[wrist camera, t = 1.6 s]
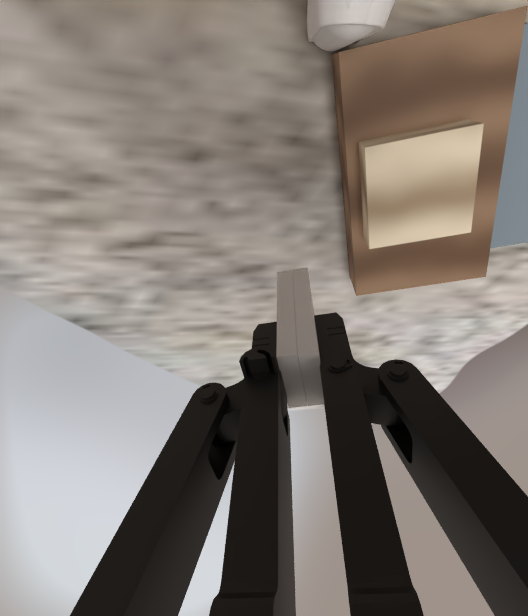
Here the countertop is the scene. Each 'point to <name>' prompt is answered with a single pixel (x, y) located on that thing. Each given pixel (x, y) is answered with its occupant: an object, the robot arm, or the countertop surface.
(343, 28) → the photo printer
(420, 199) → the birch tile
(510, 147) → the rubber mat
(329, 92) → the countertop surface
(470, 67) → the board
